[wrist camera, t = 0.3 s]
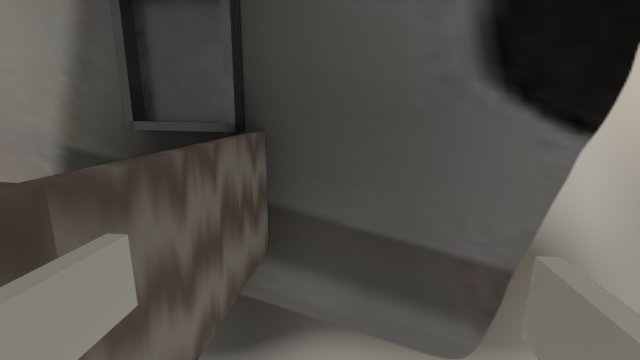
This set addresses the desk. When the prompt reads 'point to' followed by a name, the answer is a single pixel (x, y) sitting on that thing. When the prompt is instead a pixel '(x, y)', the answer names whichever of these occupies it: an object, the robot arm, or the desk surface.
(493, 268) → the desk surface
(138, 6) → the tray
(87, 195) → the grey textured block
